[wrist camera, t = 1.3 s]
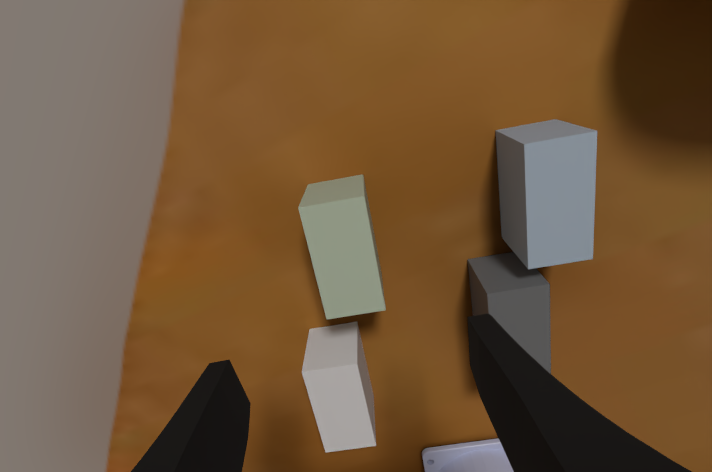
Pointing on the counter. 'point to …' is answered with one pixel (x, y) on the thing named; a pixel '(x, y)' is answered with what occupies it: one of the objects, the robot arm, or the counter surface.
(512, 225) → the blue brick
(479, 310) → the charcoal brick
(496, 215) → the counter surface
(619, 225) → the counter surface
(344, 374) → the grey brick
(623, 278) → the counter surface
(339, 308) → the sage brick
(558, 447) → the robot arm
